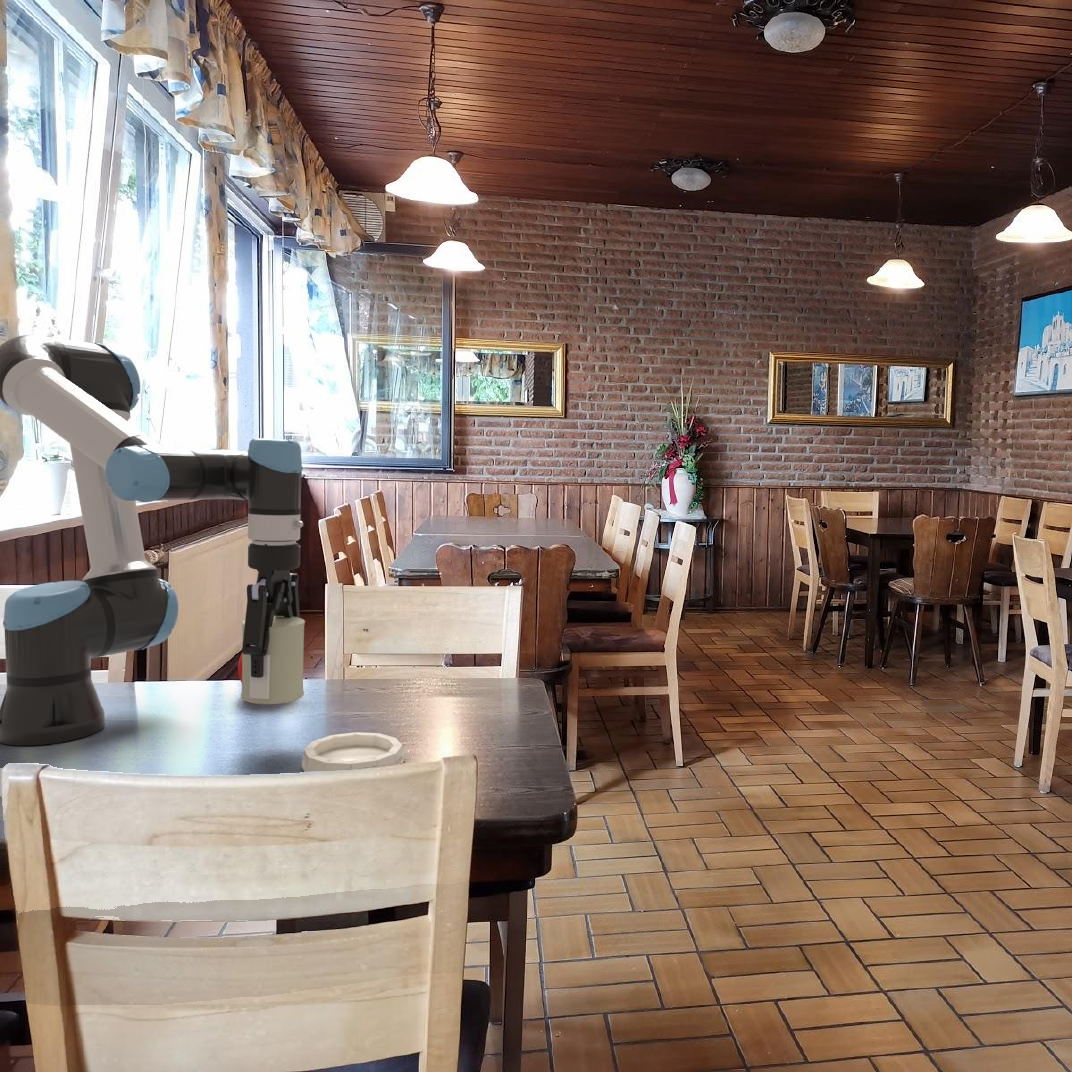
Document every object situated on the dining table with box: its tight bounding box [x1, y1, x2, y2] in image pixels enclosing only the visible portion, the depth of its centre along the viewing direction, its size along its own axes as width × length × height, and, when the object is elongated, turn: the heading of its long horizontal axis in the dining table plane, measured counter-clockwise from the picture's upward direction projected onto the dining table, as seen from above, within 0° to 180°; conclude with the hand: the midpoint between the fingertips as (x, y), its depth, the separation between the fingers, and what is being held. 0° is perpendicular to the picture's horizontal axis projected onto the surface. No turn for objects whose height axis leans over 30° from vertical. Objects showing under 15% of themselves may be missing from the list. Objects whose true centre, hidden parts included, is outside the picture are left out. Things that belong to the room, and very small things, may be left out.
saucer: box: [301, 731, 405, 771], centre depth 121 cm, size 14×14×2 cm
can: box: [240, 615, 306, 705], centre depth 127 cm, size 9×9×12 cm
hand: (272, 688), depth 128 cm, fingers closed on can, 9 cm apart
